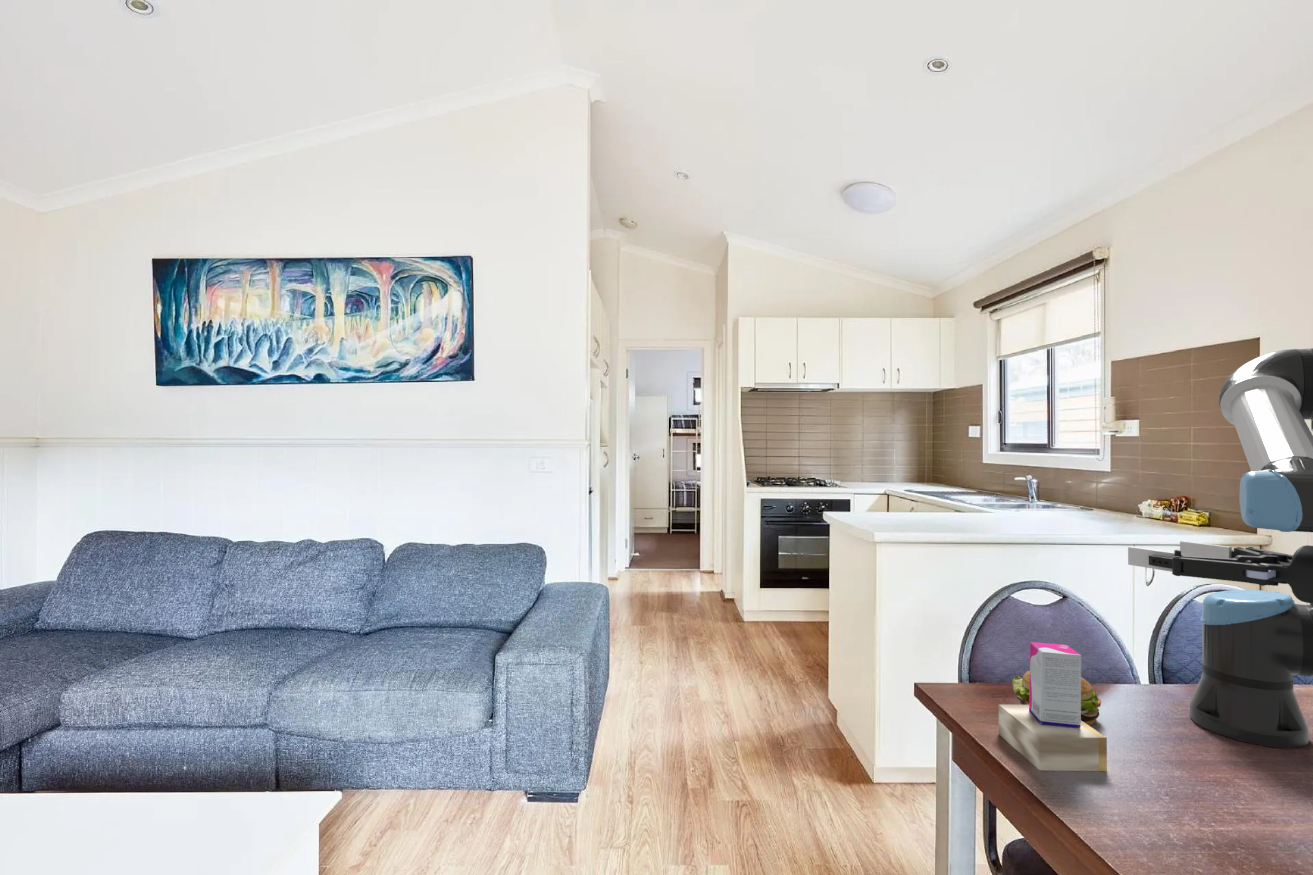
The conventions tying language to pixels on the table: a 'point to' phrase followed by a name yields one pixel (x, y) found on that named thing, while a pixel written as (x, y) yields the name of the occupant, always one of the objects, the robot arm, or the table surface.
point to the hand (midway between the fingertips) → (1155, 552)
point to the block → (1052, 742)
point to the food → (1087, 697)
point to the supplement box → (1055, 685)
